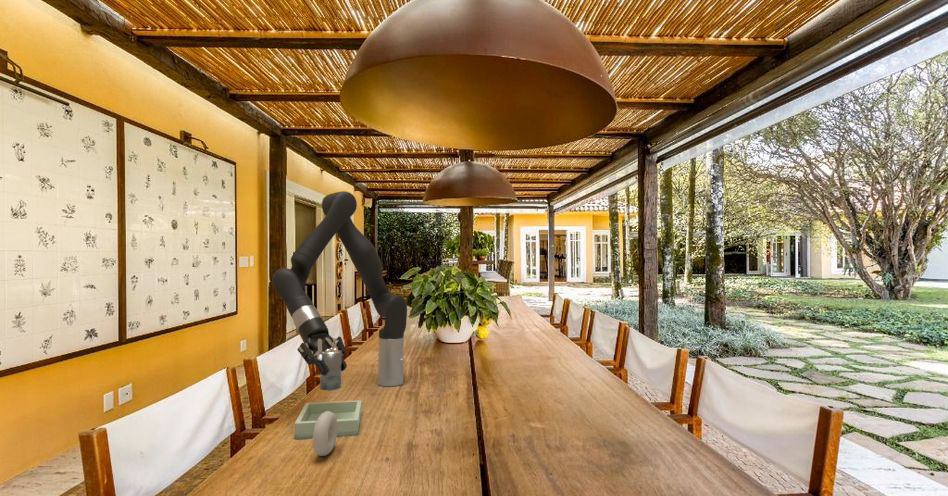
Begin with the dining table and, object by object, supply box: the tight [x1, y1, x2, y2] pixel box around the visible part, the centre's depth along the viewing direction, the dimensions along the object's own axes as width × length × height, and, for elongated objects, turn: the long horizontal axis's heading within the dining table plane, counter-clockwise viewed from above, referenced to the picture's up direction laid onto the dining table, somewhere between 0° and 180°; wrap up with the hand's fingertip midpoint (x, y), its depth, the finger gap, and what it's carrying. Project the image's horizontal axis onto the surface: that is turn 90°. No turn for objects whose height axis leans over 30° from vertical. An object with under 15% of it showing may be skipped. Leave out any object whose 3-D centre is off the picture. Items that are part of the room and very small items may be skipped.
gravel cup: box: [319, 347, 342, 391], centre depth 123 cm, size 6×6×11 cm
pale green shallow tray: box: [293, 399, 362, 440], centre depth 122 cm, size 16×16×4 cm
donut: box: [312, 411, 338, 457], centre depth 105 cm, size 10×4×10 cm, turn 178°
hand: (335, 371), depth 122 cm, fingers closed on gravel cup, 5 cm apart
